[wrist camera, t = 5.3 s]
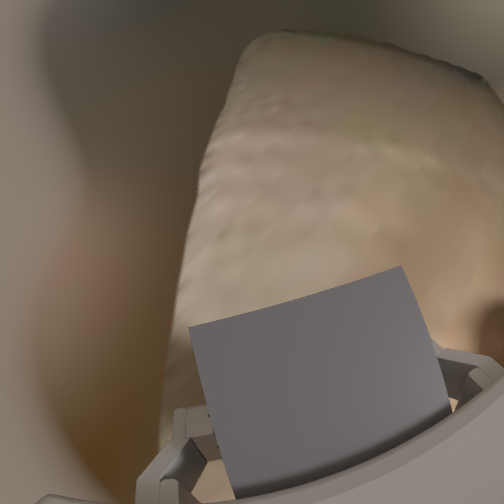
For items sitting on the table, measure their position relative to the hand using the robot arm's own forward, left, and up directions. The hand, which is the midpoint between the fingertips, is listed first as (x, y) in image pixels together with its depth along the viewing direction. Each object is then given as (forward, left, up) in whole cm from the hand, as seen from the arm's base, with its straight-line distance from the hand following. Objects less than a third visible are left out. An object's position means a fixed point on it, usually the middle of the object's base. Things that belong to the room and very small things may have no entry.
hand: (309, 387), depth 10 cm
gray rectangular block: (0, 0, -4) cm, 4 cm away
